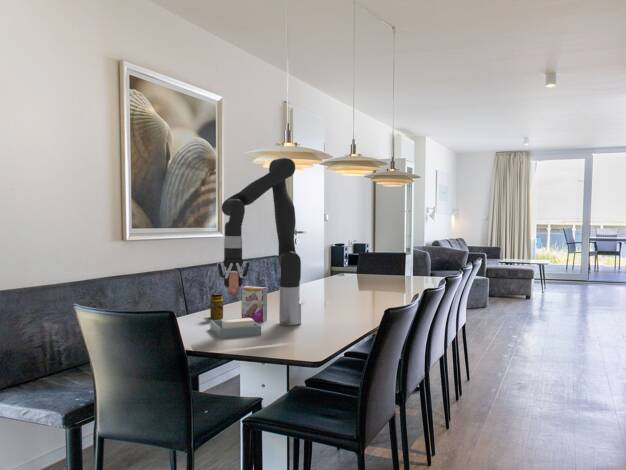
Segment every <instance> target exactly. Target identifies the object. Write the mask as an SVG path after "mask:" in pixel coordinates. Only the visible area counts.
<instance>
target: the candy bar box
mask: <svg viewBox="0 0 626 470" xmlns="http://www.w3.org/2000/svg"><path fill="white" fill-rule="evenodd" d="M241 318H252V319H253V320H254V322H256V323H259V322H260V323H264V322H267V321H268V287H265V286H263V287H262V286H253V285H252V286H251V285H245V286H241Z"/></svg>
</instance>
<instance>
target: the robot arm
mask: <svg viewBox="0 0 626 470" xmlns="http://www.w3.org/2000/svg"><path fill="white" fill-rule="evenodd" d="M295 171H296V163H295V162H294V160H293V159H291V158H289V157H282V158H281V157H279V158H275V159H273V160H271V162H270V163H269V167H268V173H265V175H262V176H261V177H260V178H257V179H255V180H254V181H252V182H250V183H248V185H246V186H244V188H242V190H240V191H238V192H237V193H235V194H233V195H232V196H230V197H228V198H227V199H225V200H224V201H223V203H221V211H222V213H223V214H224V215H225V216H229V217H228V218H229V219H228V221H227V222H225V224H224V239H223V240H224V242H223V261H222V262H217V263H216V266H217V267H216V268H217V271H218V276H219V277H220V278H223V286H224V287H225V288H226V289H227V288H228V279H227V278H228V275H229V273H230V272H233V271H235V272H238V273H239V288H242V286H243V278H244V277H247V276H248V272H249V268H250V262H248V261H244V260H243V237H242V225H243V221H244V219H245V218H244V217H245V212H246V210H245V209H246V208H245V206H249V205H252V204H253V203H254V202H256V200H258V199H259V198H260V197H262V195H264V194H265V193H266V192H267V191H269V190H270V189H272V196H273V197H272V199H273V205H274V207H273V208H274V220H275V228H276V234H277V239H278V256H277V257H278V259H277V260H278V261H277V262H278V265H279V267H280V277H279V280H278V281H279V283H278V284H279V288H278V289H279V295H278V296H279V298H278V299H279V301H278V302H279V304H278V305H279V310H278V311H279V315H278V316H279V320H278V321H279V323H278V324H280V325H281V326H296V325H301V324H302V303H301V302H300V297H301V296H300V287H301V286H300V285H301V283H300V282H301V278H302V277H301V275H302V272H301V271H302V270H301V269H302V262H301V257H300V255H299V254H298V253H297V252H296V246H295V233H296V232H295V231H296V225H297V224H296V223H297V221H296V211H295V205H294V202H293V201H292V199H291V196H290V195H289V193H288V190H287V185H286V180H287V179H288V178H291V177H293V175H294V174H295ZM242 266H243V272H242V269H241V267H242ZM223 267H225V271H223Z"/></svg>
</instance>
